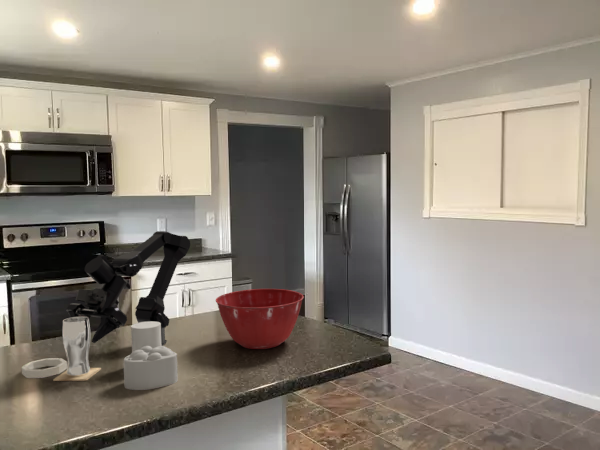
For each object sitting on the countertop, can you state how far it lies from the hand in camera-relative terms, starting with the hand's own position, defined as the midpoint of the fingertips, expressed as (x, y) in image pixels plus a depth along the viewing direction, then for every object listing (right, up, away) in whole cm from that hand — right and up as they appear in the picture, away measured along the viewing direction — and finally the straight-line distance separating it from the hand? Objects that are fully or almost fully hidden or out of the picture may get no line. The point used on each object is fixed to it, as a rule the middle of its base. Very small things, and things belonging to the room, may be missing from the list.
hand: (80, 340), depth 142 cm
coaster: (0, -9, -1) cm, 9 cm away
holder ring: (-11, -9, +3) cm, 15 cm away
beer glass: (0, -9, -1) cm, 9 cm away
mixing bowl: (+48, -7, +26) cm, 55 cm away
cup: (+17, -9, +5) cm, 20 cm away
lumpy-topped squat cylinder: (+21, -9, -7) cm, 24 cm away
